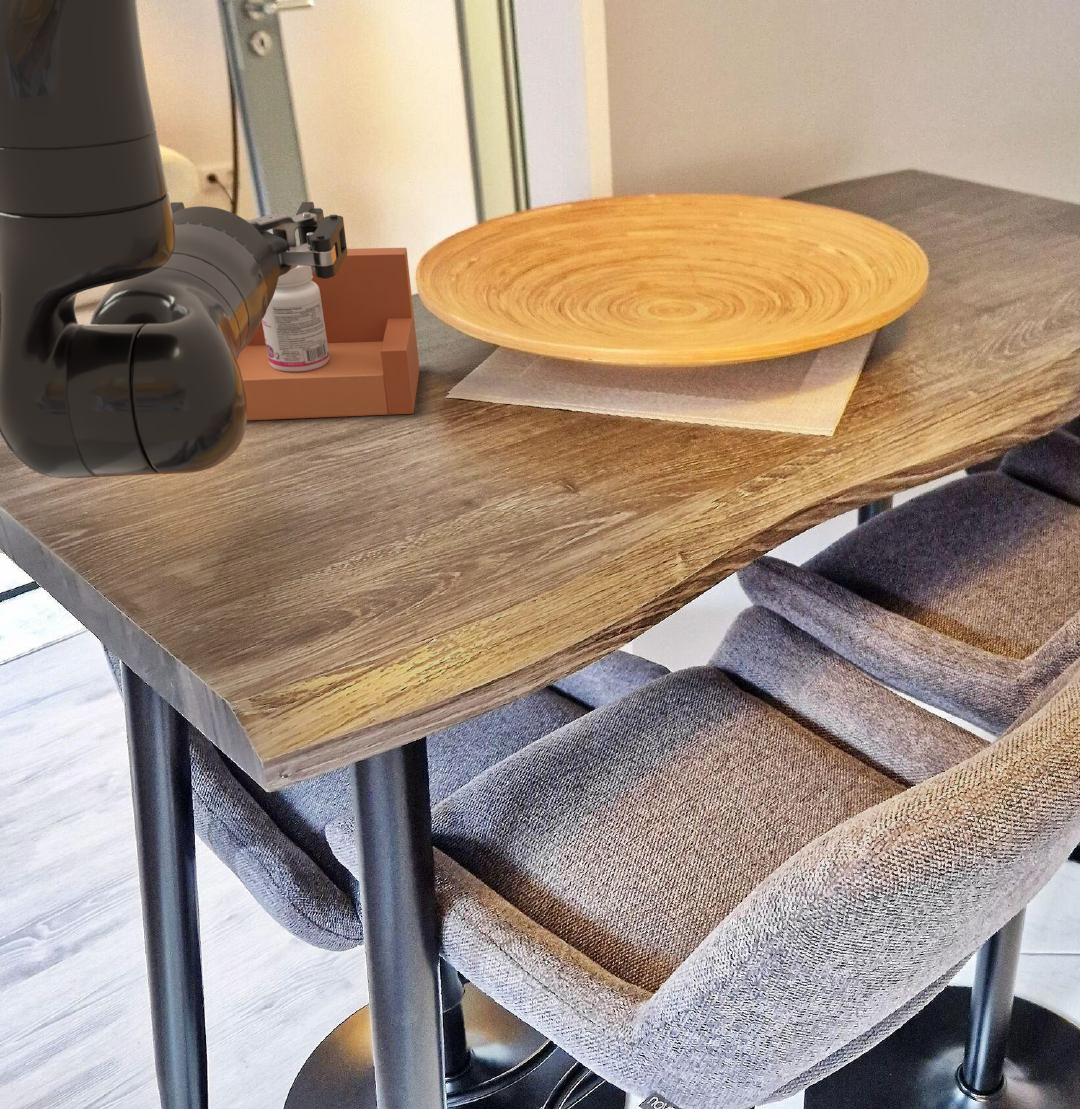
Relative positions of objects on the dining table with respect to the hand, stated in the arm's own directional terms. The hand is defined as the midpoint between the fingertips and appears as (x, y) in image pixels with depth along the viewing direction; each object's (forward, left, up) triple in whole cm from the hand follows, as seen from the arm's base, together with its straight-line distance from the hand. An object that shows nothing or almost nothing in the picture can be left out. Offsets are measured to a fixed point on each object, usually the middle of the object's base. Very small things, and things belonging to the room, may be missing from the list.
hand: (245, 216), depth 85 cm
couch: (0, +12, -18) cm, 21 cm away
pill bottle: (0, +10, -15) cm, 18 cm away
